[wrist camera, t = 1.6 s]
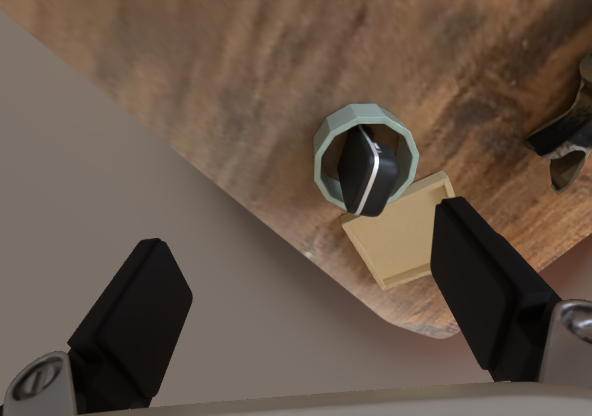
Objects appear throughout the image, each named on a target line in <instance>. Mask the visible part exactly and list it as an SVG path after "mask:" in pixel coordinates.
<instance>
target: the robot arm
mask: <svg viewBox="0 0 592 416" xmlns="http://www.w3.org/2000/svg"><path fill="white" fill-rule="evenodd" d="M430 269H431V273H432V275H433V277H434V279H435V281H436V283H437V285H438V287H439V289H440V291H441V293H442V295H443V297H444V299H445V300H446V302H447V304H448V306H449V308H450V310H451V312H452V314H453V316H454V318H455V320H456V322H457V323H458V325H459V327H460V329H461V331H462V333H463V335H464V337H465V339H466V340H467V343H468V345H469V346H470V348H471V350H472V352H473V354H474V356H475V358H476V360H477V362H478V364H479V365H480V367H481V368H482V369H483V370H488V371H489V373H490V375H491V376H492V378H493V380H494V382H489V383H470V384H452V385H434V386H419V387H406V388H392V389H379V390H366V391H353V392H352V391H351V392H337V393H325V394H311V395H298V396H287V397H286V396H285V397H273V398H260V399H247V400H235V401H222V402H211V403H198V404H186V405H175V406H163V407H151V408H149V405H150V402H151V400H152V397H154V396H156V394H157V393H158V391H159V388H160V386H161V383H162V380H163V378H164V375H165V373H166V370H167V367H168V365H169V362H170V359H171V357H172V354H173V351H174V349H175V346H176V343H177V341H178V338H179V335H180V333H181V330H182V328H183V325H184V322H185V320H186V317H187V314H188V312H189V309H190V306H191V304H192V299H193V297H192V292H191V290H190V288H189V286H188V284H187V282H186V280H185V278H184V276H183V274H182V272H181V270H180V269H179V267H178V265H177V263H176V261H175V259H174V257H173V255H172V253H171V251H170V249H169V247H168V245H167V244H166V242H164V241H161V239H159V238H153V239H145V240H141V241H140V242H139V243H138V244H137V246H136V247H135V249H134V250H133V251H132V253H131V254H130V255H129V257H128V258H127V260H126V261H125V262H124V264H123V265H122V267H121V268H120V269H119V271H118V272H117V274H116V275H115V276H114V278H113V279H112V281H111V282H110V283H109V285H108V286H107V287H106V289H105V290H104V292H103V293H102V295H101V296H100V297H99V299H98V300H97V301H96V303H95V304H94V306H93V307H92V308H91V310H90V311H89V313H88V314H87V315H86V317H85V318H84V320H83V321H82V322H81V324H80V325H79V327H78V328H77V329H76V331H75V332H74V334H73V335H72V336H71V338H70V339H69V341H68V342H67V343H68V345H69V346H70V347H71V349H70V351H69V352H68V353H65V352H63V351H54V352H51V353H48V354H45V355H43V356H41V357H39V358H37V359H36V360H35V361H33V362H32V363H30V364H29V365H27V366H26V367H25V368H24V369H23V370H22V371H21V372H20V373H19V374H18V375H17V376H16V377H15V378H14V379H13V381H12V382H11V383H10V385H9V387H8V389H7V391H6V393H5V397H4V404H3V405H2V406H0V416H592V302H591V301H587V300H581V299H570V300H562V299H561V298H560V297H559V296H558V295H557V294H556V293H555V291H554V290H553V289H552V288H551V287H550V286H549V285H548V284H547V283H546V282H545V281H544V280H543V279H542V278H541V277H540V275H538V273H537V272H536V271H535V270H534V269H533V268H532V267H531V266H530V265H529V264H528V263H527V262H526V261H525V260H524V258H523V257H522V256H521V255H520V254H519V253H518V252H517V251H516V250H515V249H514V248H513V247H512V246H511V245H510V244H509V242H508V241H507V240H506V239H505V238H504V237H503V236H501V235H500V234H498V233H496V232H495V231H494V230H493V229H492V228H491V227H490V225H489V224H488V223H487V222H486V221H485V220H484V219H483V218H482V217H481V216H480V215H479V214H478V212H477V211H476V210H475V209H474V208H473V207H472V206H471V205H470V204H469V203H468V202H467V201H466V199H465V198H463V197H461V196H460V197H452V198H445V199H442V201H441V204H437V205H436V207H435V216H434V227H433V238H432V249H431V259H430ZM500 381H511V382H500ZM129 408H130V409H129Z"/></svg>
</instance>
